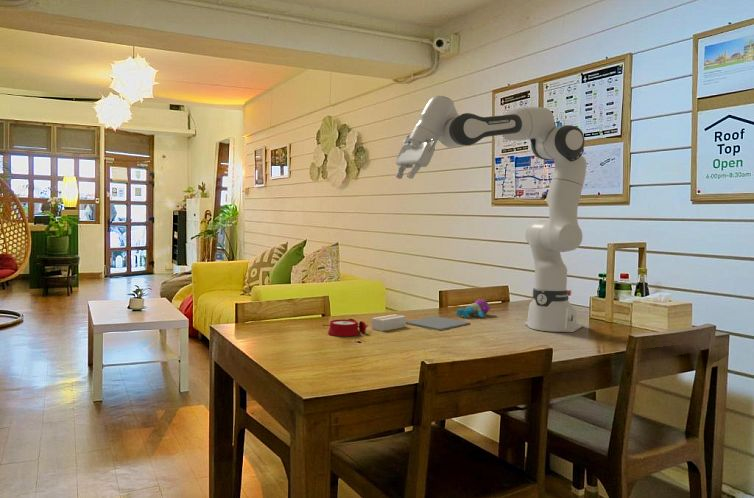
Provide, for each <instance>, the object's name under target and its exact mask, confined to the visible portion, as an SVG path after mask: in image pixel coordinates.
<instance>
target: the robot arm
mask: <svg viewBox="0 0 754 498" xmlns="http://www.w3.org/2000/svg"><path fill="white" fill-rule="evenodd" d="M495 136H502V137H503V138H504V139H505V140H506V141H514V142H515V141H516V142H517V141H518V142H519V141H526V140H529V141H530V147H531V150H532V153H533V154H534V156H535V157H537V158H538V159H540V160H546V161H547V160H553V161H554V162H553V163H554V171H553V174H552V176H551V181H550V184H549V188H548V192H547V196H546V199H545V200H546V201H545V202H546V204H547V206H548V211H549V212H548V213H549V214H548V215H549V217H548V219H539V220H536V221H533V222H531V223H529V224H528V226H527V227H526V229H525V234H524V235H525V236H524V237H525V239H526V242H527V243H528V244H529V247H530V249H531V254H532V259H533V263H534V288H533V289H532V299H533V300H532V301H531V302H530V303H529V307H528V312H527V313H528V316H527V320H526V321H524V325H526V326H527V327H528V328H530V329H532V330H537V331H542V332H543V331H544V332H554V333H555V332H556V333H559V332H564V333H574V332H576V331H577V330H579V329H580V328H582V327H583V326H584V325H583V323H582V322H578V321H577V309H575V307H574V306H573V305H572V304H571V302H570V301H569V299H570V298H569V296H571V295H572V290H571V289H569V290H568V289H567V281H568V280H567V279H568V269H567V265H566V264H565V263H564V261H563V259H562V254H561V253H566V252H571V251H575V250H577V249H578V248H579V247H580V245H581V244H582V241H583V231H582V229H581V227H580V226H579V223H578V222H579V221H578V208H579V203H580V198H581V195H582V191H583V187H584V183H585V180H586V179H585V177H586V175H587V174H586V173H587V160H586V158H585V157H584V156H583V154H584V150H585V149H584V148H585V136H584V132H583V131H582V129H580V127H578V126H574V125H572V124H571V125H569V124H568V125H560V126H557V125H556V124H555V116H554V114H553V112H552V111H551V110H550V109H549V108H546V107H540V106H525V107H517V108H514V109H509V110H507V111H505V112H503V113H502V114H500V115H493V116H480V115H477V114H474V113H470V112H465V113H462V114H459V113H458V111H457V109H456V107H455V102H454V101H453V100H452V99H451V98H449V97H446V96H444V95H436V96H433V97H431V98H430V99H429V100H428V102H427V103H426V104H425V106H424V108H423V110H422V112H421V113H420V117H419V121H418V122H417V123H416V125H414V127H413V129H412V131H411V132H410V134H408V135H407V136H406V137H405V138H403V139H404V140H403V145H402V146H401V148H400V151H399V152H398V155H397V157H396V160H395V165H397V166H398V167H397V172H396V175H395V178H396V179H399V180H400V179H403V176H404V172H405V171H406V169H410V170H409V171H408V173H407V175H406V177H407V178H408V179H414V177H415V176H416V174H417V173H418V172H420V170H421V168H427V166H428V165H429V164H430V162H431V160H432V159H433V158H432V157H433V156H434V152H435V150H436V148H435V147H436V145H437V143H438V141H439V142H440V143H441V144H442V145H444V146H445V147H447V148H452V149H454V148H459V147H460V148H461V147H464V146H465V147H466V146H472V145H475V144H476V143H478V142H479V141H481V140H482V139H484V138H487V137H488V138H489V137H495Z"/></svg>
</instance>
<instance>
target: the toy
mask: <svg viewBox="0 0 754 498" xmlns="http://www.w3.org/2000/svg"><path fill="white" fill-rule="evenodd" d="M491 308H492V306H490V305H489V303H488V302H487V300H485V299H477V300H476V301H475V302H473V303H471V304H468V305H467V306H466V307H465V308H458V309H457V311H456V316H457V317H458V316H461V317H463V318H464V319H468V318H469V316H474V315H477V316H478V317H480V318H485V315H487V313H488V311H490V309H491Z"/></svg>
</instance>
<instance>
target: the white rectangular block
mask: <svg viewBox="0 0 754 498" xmlns="http://www.w3.org/2000/svg"><path fill="white" fill-rule="evenodd" d="M405 322H406V316H405V315H402V314H395V313H393V314H388V315H384V316H377V317H371V329H372V330H376V331H379V332H385V331H389V330H395V329H401V328H405V327H406V324H405Z"/></svg>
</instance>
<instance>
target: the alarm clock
mask: <svg viewBox="0 0 754 498" xmlns="http://www.w3.org/2000/svg"><path fill="white" fill-rule="evenodd" d="M322 326H323V327H325V326H326V327H329V329H328V331H327V334H328V335H329V336H330V337H331V336H336V337H354V336H358V335H360V333H361V334H362V335H363V334H365V333H366V330H367V327H369V325H368V324H366V322H365V321H363V320H362V321H359V323H358V321H357V320H356V319H354V318H348V319H344V318H343V319H341V318H340V319H333V320H330V321H329V324H322Z"/></svg>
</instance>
